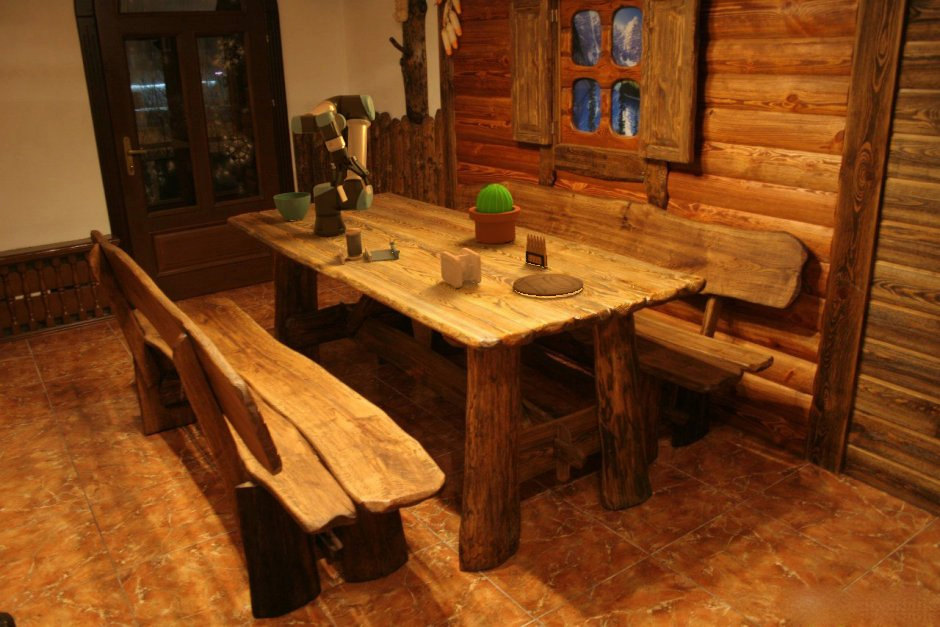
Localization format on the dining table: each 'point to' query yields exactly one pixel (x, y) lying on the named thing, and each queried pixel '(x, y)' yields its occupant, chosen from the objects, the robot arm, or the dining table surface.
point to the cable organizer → (461, 267)
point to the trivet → (547, 284)
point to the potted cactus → (494, 215)
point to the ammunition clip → (536, 251)
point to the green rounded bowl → (292, 205)
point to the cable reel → (354, 243)
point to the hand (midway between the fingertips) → (357, 197)
